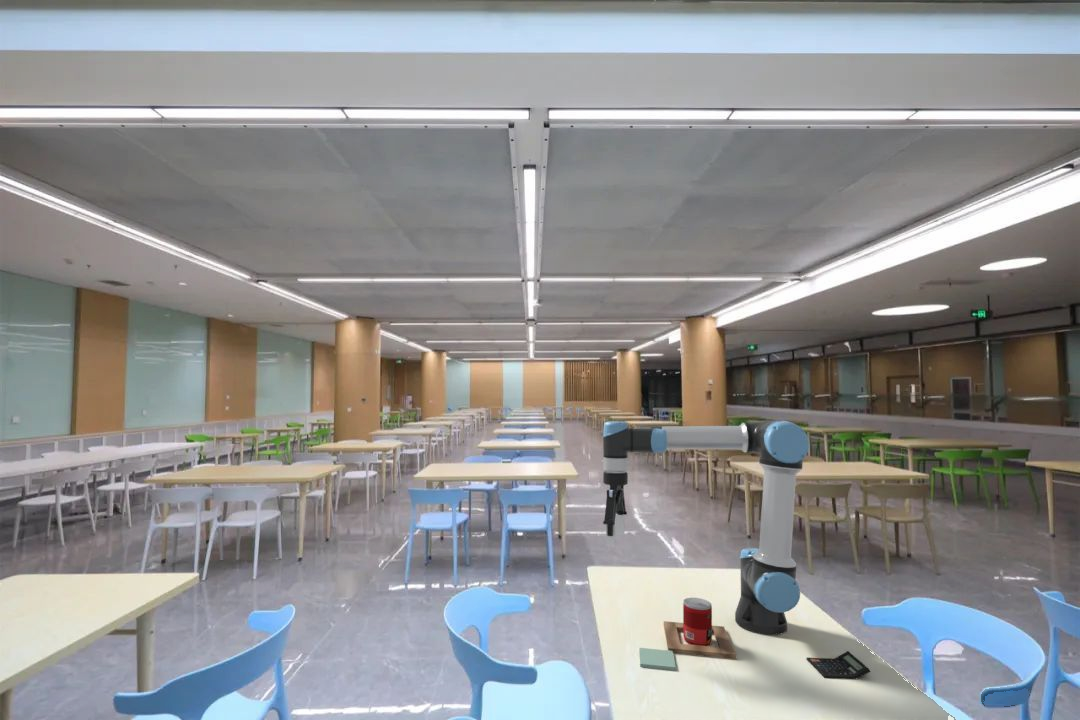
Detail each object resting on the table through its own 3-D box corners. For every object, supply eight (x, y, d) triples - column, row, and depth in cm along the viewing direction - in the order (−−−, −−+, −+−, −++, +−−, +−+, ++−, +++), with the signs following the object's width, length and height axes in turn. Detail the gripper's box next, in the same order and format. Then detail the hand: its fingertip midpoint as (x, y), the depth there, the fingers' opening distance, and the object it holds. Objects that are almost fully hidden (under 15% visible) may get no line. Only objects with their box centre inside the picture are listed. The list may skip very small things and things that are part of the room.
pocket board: (723, 630, 158) (723, 626, 158) (736, 659, 140) (736, 654, 140) (663, 625, 161) (663, 621, 161) (668, 652, 143) (668, 648, 143)
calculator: (806, 660, 141) (806, 649, 141) (849, 662, 141) (849, 650, 141) (824, 679, 132) (824, 666, 132) (870, 680, 131) (870, 668, 131)
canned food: (713, 648, 146) (713, 608, 147) (684, 645, 148) (684, 605, 148) (710, 636, 153) (710, 598, 154) (682, 633, 155) (682, 596, 156)
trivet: (672, 653, 142) (672, 650, 142) (675, 670, 134) (675, 667, 134) (639, 650, 144) (639, 647, 144) (640, 666, 135) (640, 663, 135)
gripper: (612, 466, 173) (612, 530, 172) (593, 475, 150) (593, 550, 148) (634, 467, 171) (634, 532, 169) (619, 477, 148) (619, 553, 146)
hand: (615, 541), depth 159 cm, fingers open, 13 cm apart
